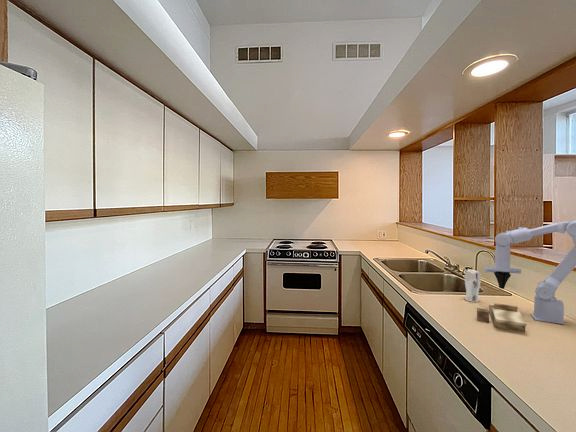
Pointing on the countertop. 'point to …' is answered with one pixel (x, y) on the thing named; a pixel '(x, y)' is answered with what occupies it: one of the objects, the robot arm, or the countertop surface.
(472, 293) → the beer glass
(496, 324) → the brown divided tray
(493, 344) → the countertop surface
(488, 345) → the countertop surface
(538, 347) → the countertop surface
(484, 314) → the block
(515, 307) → the lid
